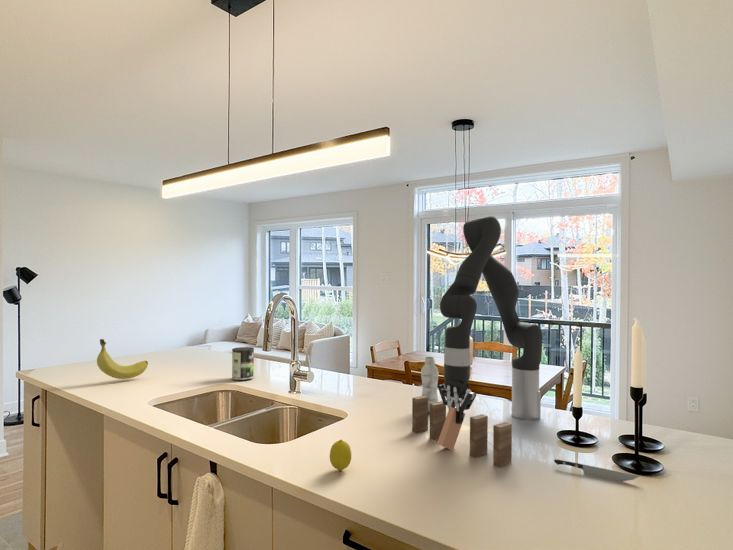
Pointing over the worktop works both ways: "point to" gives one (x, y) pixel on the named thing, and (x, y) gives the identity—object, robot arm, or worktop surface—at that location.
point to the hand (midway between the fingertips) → (455, 421)
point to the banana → (118, 366)
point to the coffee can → (242, 363)
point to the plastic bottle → (429, 380)
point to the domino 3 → (450, 430)
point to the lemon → (340, 455)
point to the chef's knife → (599, 471)
